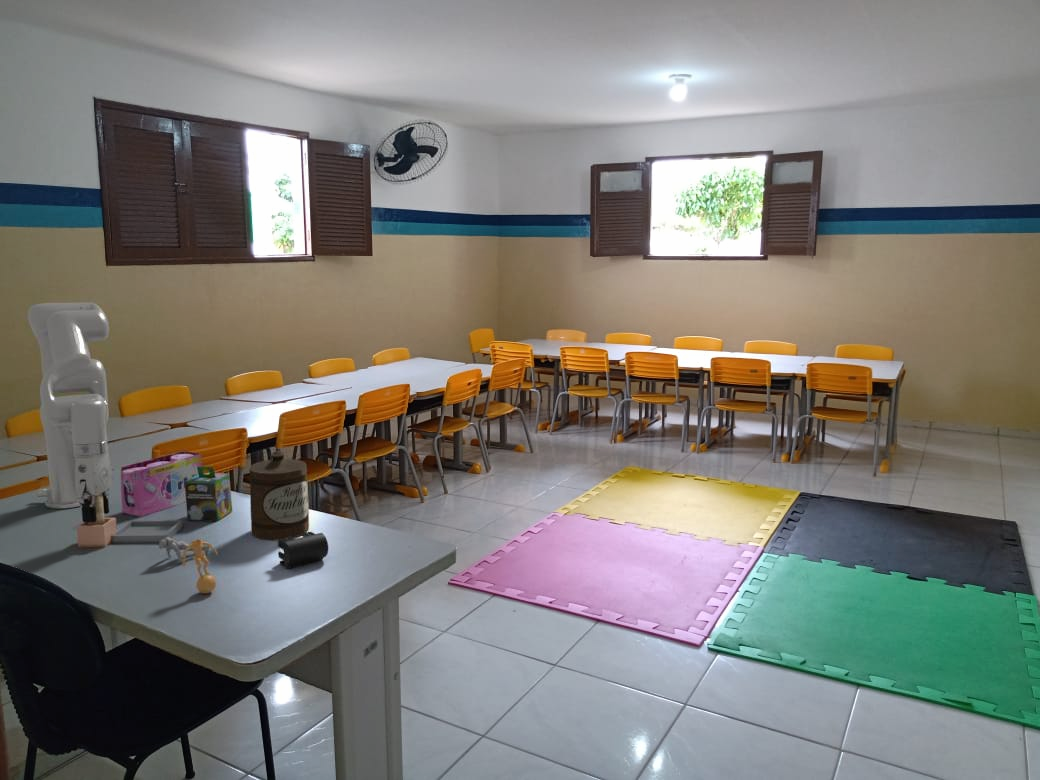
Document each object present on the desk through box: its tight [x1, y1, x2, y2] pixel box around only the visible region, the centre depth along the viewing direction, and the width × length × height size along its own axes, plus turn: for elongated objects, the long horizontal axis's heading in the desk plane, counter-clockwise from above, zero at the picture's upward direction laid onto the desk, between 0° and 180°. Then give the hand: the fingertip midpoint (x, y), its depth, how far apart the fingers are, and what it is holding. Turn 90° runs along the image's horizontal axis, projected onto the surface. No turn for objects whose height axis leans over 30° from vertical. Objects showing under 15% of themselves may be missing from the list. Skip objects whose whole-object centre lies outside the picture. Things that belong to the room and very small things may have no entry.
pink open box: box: [76, 517, 118, 548], centre depth 198 cm, size 7×7×6 cm
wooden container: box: [249, 450, 310, 541], centre depth 207 cm, size 15×15×22 cm
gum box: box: [120, 450, 202, 517], centre depth 229 cm, size 24×8×14 cm, turn 155°
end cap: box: [277, 531, 329, 569], centre depth 186 cm, size 10×7×7 cm
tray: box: [110, 519, 185, 544], centre depth 205 cm, size 14×12×2 cm
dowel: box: [86, 492, 105, 525], centre depth 197 cm, size 4×4×15 cm
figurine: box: [182, 538, 219, 594], centre depth 169 cm, size 8×6×12 cm
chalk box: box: [185, 466, 233, 522], centre depth 219 cm, size 9×9×15 cm
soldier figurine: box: [158, 537, 210, 565], centre depth 188 cm, size 6×5×12 cm
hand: (96, 516), depth 198 cm, fingers open, 5 cm apart
